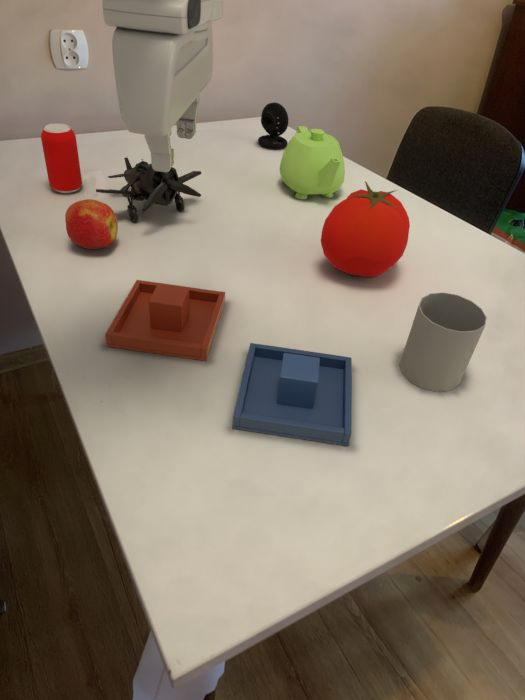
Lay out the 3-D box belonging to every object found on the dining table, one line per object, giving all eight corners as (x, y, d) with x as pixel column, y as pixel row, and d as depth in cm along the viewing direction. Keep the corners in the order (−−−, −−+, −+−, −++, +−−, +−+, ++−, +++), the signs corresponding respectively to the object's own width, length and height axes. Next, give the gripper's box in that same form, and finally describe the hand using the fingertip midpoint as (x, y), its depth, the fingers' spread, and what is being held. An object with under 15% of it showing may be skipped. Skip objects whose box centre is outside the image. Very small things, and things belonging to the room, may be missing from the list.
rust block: (150, 327, 75) (148, 301, 72) (159, 309, 79) (157, 283, 76) (181, 332, 75) (181, 306, 72) (189, 313, 78) (189, 287, 76)
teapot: (356, 208, 112) (369, 147, 104) (296, 212, 108) (305, 149, 100) (320, 170, 126) (329, 114, 118) (266, 172, 122) (271, 115, 114)
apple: (106, 261, 88) (101, 216, 83) (58, 253, 89) (50, 208, 84) (125, 239, 94) (121, 196, 89) (80, 231, 95) (74, 188, 90)
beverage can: (76, 197, 105) (66, 134, 97) (45, 193, 105) (33, 130, 98) (87, 184, 110) (79, 124, 102) (57, 180, 110) (47, 120, 102)
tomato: (374, 245, 100) (391, 173, 91) (416, 284, 91) (440, 209, 82) (298, 255, 95) (309, 180, 86) (335, 299, 85) (351, 219, 77)
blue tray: (232, 428, 63) (233, 416, 62) (249, 354, 73) (250, 342, 72) (348, 446, 62) (351, 434, 61) (348, 369, 73) (351, 357, 71)
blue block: (276, 403, 66) (280, 376, 63) (279, 379, 69) (283, 352, 66) (312, 409, 66) (318, 382, 63) (314, 384, 69) (319, 357, 66)
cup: (387, 358, 75) (405, 299, 69) (432, 344, 78) (453, 287, 72) (427, 398, 69) (451, 338, 63) (473, 382, 73) (501, 323, 66)
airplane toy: (121, 243, 93) (112, 155, 83) (79, 199, 105) (67, 118, 95) (219, 219, 103) (222, 138, 93) (171, 181, 114) (169, 106, 104)
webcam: (251, 143, 136) (254, 101, 130) (269, 137, 141) (273, 96, 134) (274, 152, 132) (279, 109, 126) (293, 145, 137) (298, 104, 131)
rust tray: (106, 346, 72) (105, 334, 71) (137, 291, 83) (136, 279, 81) (206, 361, 72) (206, 349, 70) (224, 303, 82) (225, 292, 81)
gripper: (167, -26, 54) (171, 117, 63) (92, 2, 39) (111, 187, 47) (229, -19, 54) (224, 124, 63) (178, 12, 38) (182, 196, 47)
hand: (175, 151), depth 55 cm, fingers open, 8 cm apart
